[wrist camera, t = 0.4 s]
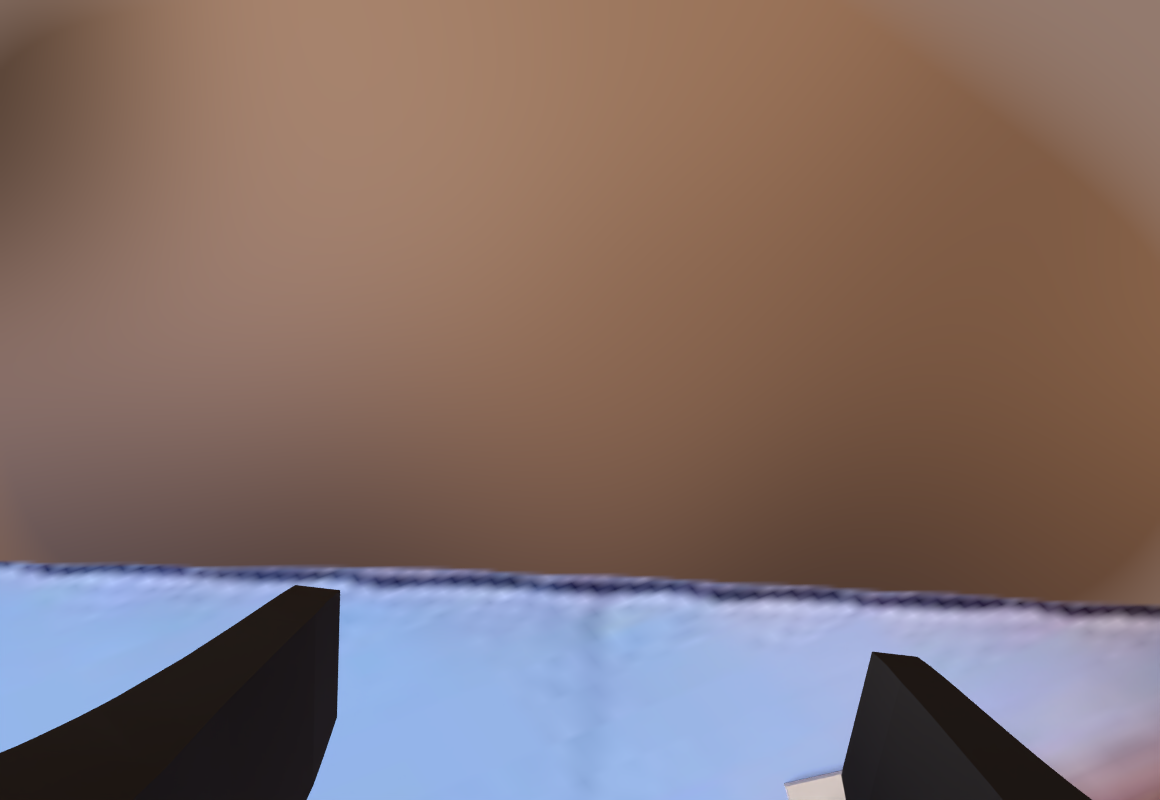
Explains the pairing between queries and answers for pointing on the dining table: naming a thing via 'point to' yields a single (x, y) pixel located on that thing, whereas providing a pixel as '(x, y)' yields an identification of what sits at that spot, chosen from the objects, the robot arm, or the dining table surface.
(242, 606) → the dining table surface
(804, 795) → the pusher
